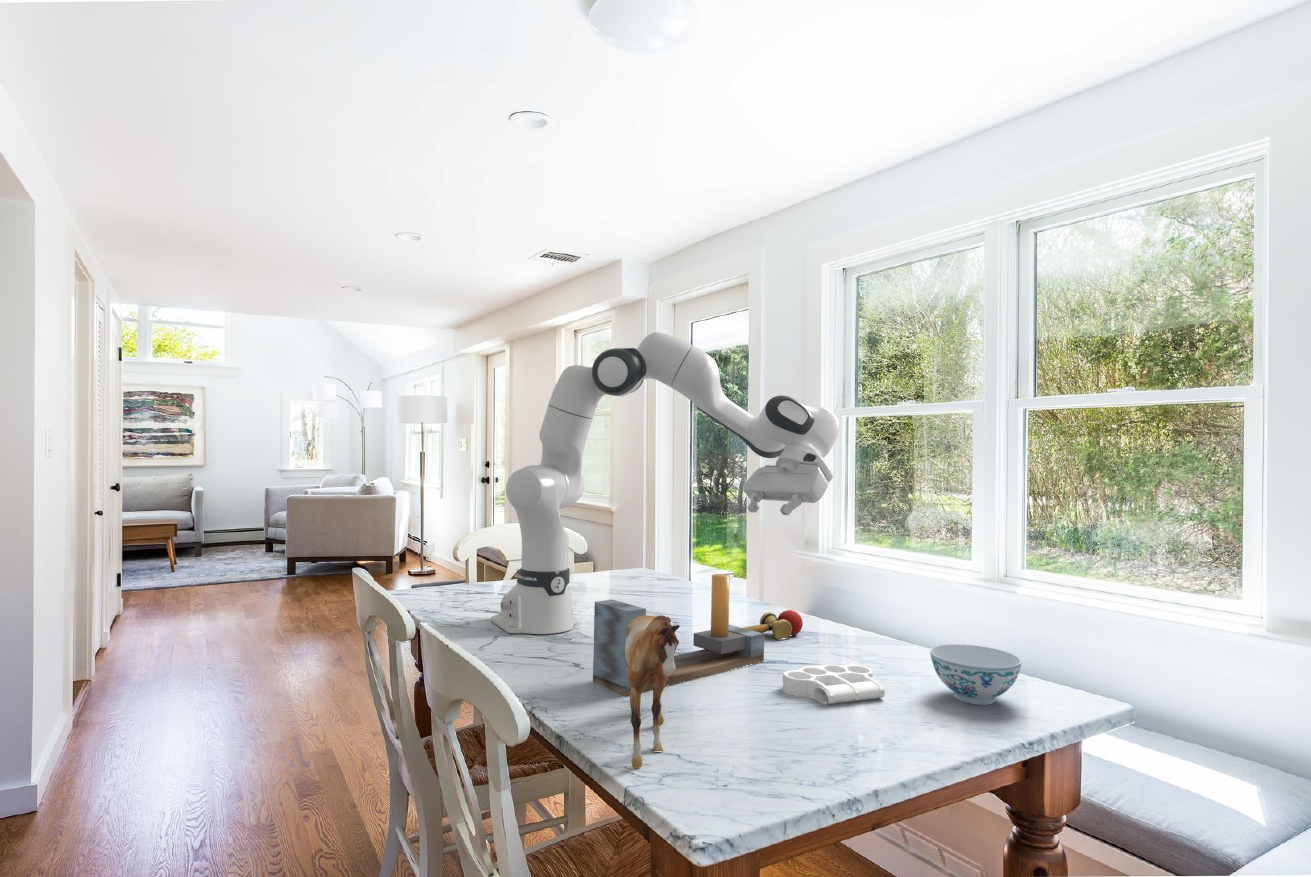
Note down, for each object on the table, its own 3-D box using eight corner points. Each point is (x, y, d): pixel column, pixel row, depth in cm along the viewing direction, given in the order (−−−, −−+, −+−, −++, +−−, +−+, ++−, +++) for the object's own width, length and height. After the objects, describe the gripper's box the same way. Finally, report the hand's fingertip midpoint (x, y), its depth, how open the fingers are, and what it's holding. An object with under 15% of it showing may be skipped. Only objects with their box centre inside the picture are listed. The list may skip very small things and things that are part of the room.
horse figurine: (676, 783, 97) (680, 623, 97) (616, 781, 97) (620, 621, 97) (673, 702, 128) (675, 581, 128) (627, 701, 128) (630, 580, 128)
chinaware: (974, 682, 143) (975, 641, 143) (1041, 708, 129) (1041, 663, 129) (911, 689, 137) (912, 647, 137) (973, 717, 123) (974, 670, 123)
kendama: (748, 652, 166) (812, 633, 174) (743, 623, 167) (807, 606, 175) (730, 650, 173) (792, 632, 181) (725, 622, 174) (787, 606, 182)
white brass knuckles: (812, 711, 126) (769, 685, 139) (899, 701, 132) (850, 676, 146) (812, 691, 126) (769, 667, 139) (900, 681, 132) (850, 659, 146)
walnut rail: (590, 682, 137) (592, 602, 138) (728, 651, 161) (729, 582, 161) (627, 698, 129) (629, 612, 129) (767, 662, 153) (768, 590, 153)
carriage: (693, 645, 153) (694, 574, 153) (717, 640, 157) (718, 571, 158) (721, 654, 147) (722, 580, 147) (745, 648, 151) (746, 576, 152)
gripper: (755, 456, 175) (725, 499, 168) (826, 456, 159) (796, 504, 152) (768, 475, 177) (739, 518, 171) (839, 477, 162) (810, 525, 155)
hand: (767, 511), depth 161 cm, fingers open, 8 cm apart
